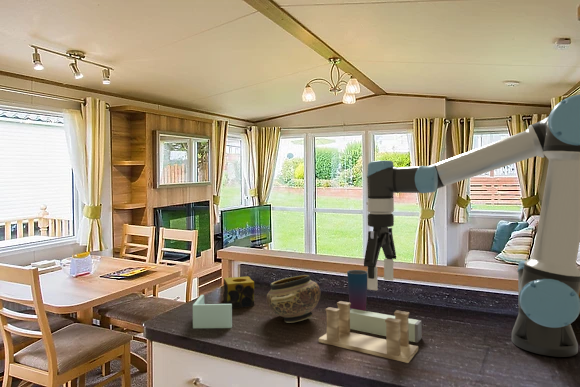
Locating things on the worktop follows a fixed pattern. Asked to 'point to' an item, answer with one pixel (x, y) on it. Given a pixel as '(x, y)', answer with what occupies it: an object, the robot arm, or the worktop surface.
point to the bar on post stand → (389, 348)
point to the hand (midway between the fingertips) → (381, 284)
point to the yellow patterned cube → (239, 291)
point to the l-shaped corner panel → (211, 315)
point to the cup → (357, 289)
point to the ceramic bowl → (293, 298)
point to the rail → (381, 324)
